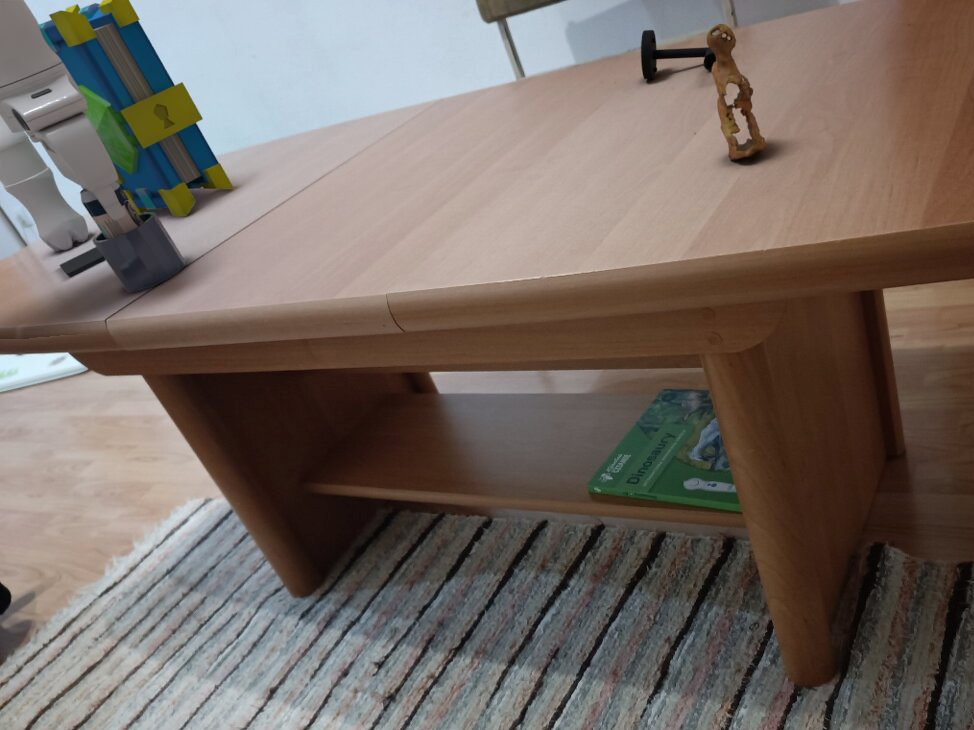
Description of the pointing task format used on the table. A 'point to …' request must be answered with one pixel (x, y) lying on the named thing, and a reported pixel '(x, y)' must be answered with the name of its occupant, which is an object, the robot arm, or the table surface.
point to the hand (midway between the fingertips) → (114, 214)
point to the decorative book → (135, 106)
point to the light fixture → (668, 54)
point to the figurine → (729, 73)
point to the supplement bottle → (103, 220)
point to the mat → (82, 262)
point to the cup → (141, 254)
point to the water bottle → (38, 191)
